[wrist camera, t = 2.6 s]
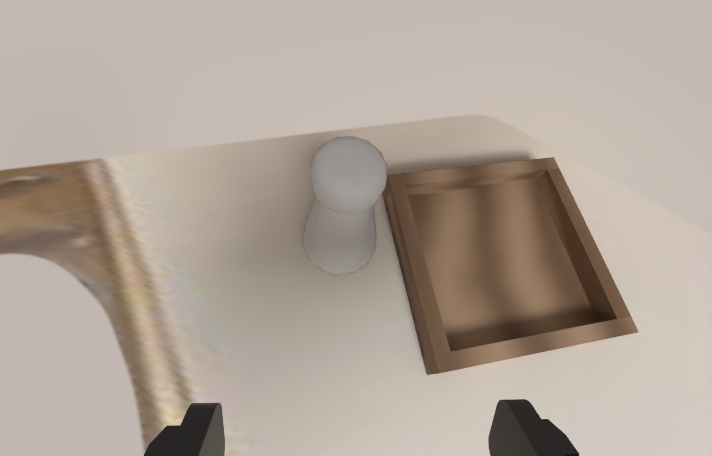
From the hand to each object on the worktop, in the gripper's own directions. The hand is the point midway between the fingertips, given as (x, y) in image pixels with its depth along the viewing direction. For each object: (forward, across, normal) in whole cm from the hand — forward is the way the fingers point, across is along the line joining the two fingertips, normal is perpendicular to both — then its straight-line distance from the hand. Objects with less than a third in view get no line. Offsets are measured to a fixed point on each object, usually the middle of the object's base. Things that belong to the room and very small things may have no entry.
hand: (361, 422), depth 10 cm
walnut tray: (+20, -13, +4) cm, 24 cm away
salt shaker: (+20, 0, +4) cm, 21 cm away
